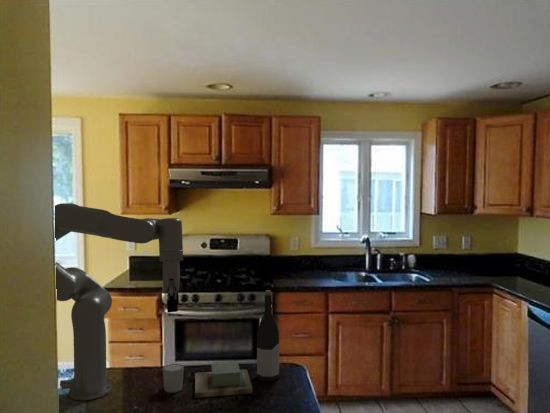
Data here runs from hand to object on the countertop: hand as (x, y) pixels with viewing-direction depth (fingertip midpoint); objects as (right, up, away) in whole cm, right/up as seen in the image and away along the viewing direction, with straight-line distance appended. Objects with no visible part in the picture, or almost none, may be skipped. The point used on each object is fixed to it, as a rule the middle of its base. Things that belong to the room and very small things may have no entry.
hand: (173, 308), depth 143 cm
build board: (+16, -26, +2) cm, 31 cm away
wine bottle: (+31, -26, +9) cm, 42 cm away
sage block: (+17, -25, +3) cm, 30 cm away
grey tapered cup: (0, -26, 0) cm, 26 cm away
